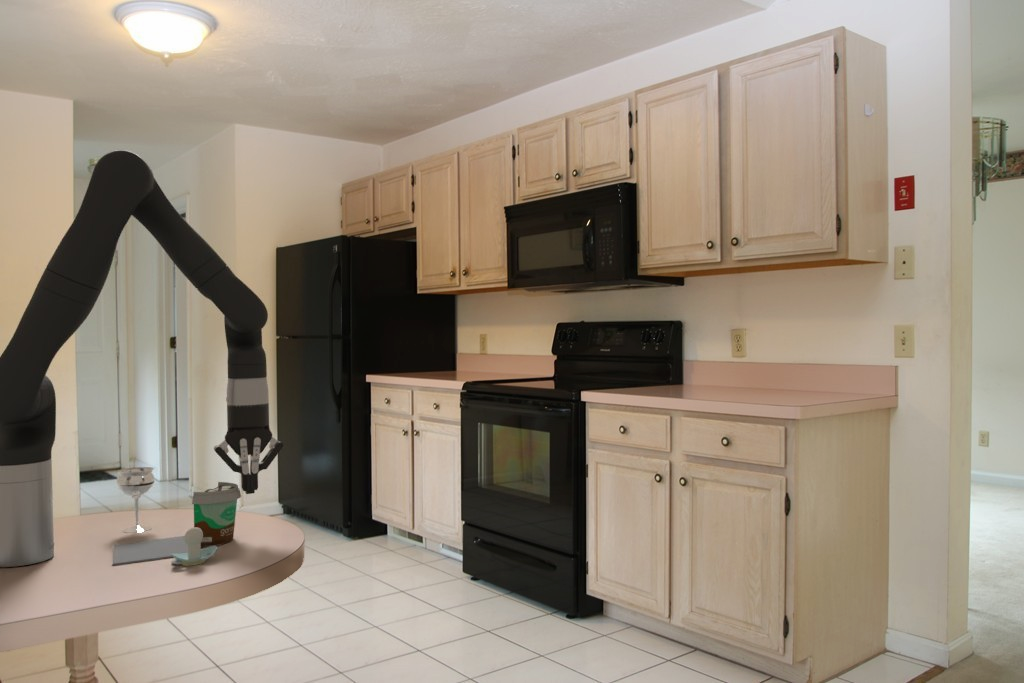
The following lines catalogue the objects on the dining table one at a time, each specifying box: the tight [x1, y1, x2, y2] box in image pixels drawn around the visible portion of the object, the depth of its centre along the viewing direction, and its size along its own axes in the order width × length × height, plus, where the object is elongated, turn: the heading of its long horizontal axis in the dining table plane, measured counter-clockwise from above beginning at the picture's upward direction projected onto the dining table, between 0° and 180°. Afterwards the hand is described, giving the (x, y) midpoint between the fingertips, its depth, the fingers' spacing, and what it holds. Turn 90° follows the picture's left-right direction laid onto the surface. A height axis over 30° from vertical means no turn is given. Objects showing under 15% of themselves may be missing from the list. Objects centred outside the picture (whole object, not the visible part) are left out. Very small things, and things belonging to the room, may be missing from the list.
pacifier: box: [170, 526, 218, 567], centre depth 132 cm, size 7×6×6 cm
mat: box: [112, 535, 188, 566], centre depth 140 cm, size 14×14×1 cm
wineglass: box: [116, 466, 155, 534], centre depth 156 cm, size 7×7×12 cm
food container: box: [191, 481, 242, 548], centre depth 145 cm, size 12×6×10 cm, turn 179°
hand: (250, 492), depth 147 cm, fingers closed
